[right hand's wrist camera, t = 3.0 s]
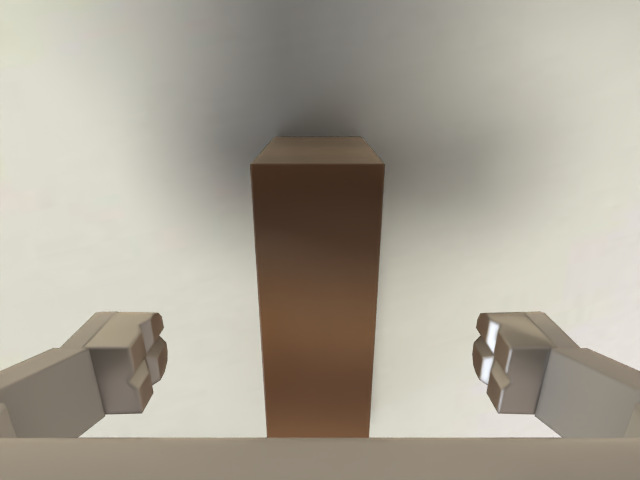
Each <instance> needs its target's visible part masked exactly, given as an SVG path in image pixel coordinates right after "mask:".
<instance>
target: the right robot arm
mask: <svg viewBox="0 0 640 480" xmlns="http://www.w3.org/2000/svg"><path fill="white" fill-rule="evenodd" d="M163 328H164V326H163V321H162V316H161V315H160V314H159V313H152V312H97V313H95V314H94V315H93V316H92V317H91V318H90V319H89V320H88V321H87V322H86V323H85V324H84V325H83V326H82V327H81V328H80V329H79V330H78V331H77V332H76V333H75V334H73V335H72V336H71V337H70V338H69V339H68V340H67V341H66V342H65V343H64V344H63V345H62V346H61V347H60V348H52V349H50V350H48V351H45V352H43V353H41V354H39V355H36V356H34V357H32V358H29V359H27V360H25V361H22V362H20V363H18V364H16V365H13V366H11V367H9V368H6V369H4V370H2V371H0V480H640V371H638V370H636V369H633V368H631V367H629V366H627V365H624V364H622V363H620V362H617V361H615V360H613V359H611V358H608V357H606V356H604V355H601V354H599V353H597V352H595V351H592V350H590V349H588V348H580V347H579V346H578V345H577V344H576V343H575V342H574V341H573V340H572V339H571V338H570V337H569V336H568V335H567V334H566V333H565V332H564V331H563V330H561V329H560V328H559V327H558V326H557V325H556V324H555V323H554V322H553V321H552V320H551V319H550V318H549V317H548V316H547V315H546V314H545V313H543V312H540V311H538V312H505V313H480V315H479V317H478V320H477V326H476V328H477V330H478V331H479V333H480V335H481V336H480V337H479V338H478V339H477V340H476V341H475V342H474V345H473V353H472V356H473V365H474V369H475V372H476V374H477V376H478V378H479V380H480V381H482V382H483V383H485V384H486V385H488V388H487V394H488V396H489V398H490V400H491V402H492V403H493V405H494V407H495V409H496V410H497V412H498V413H502V414H535V417H537V418H538V419H539V420H541V421H542V422H543V423H544V424H546V425H547V426H548V427H550V428H551V429H552V430H553V431H555V432H556V433H557V434H559V435H560V436H561V437H562V438H78V437H79V436H80V435H82V434H83V433H84V432H85V431H87V430H88V429H89V428H91V427H92V426H93V425H94V424H96V423H97V422H98V421H100V420H101V419H102V418H104V417H105V414H137V413H142V412H143V411H144V409H145V407H146V405H147V403H148V402H149V400H150V398H151V396H152V394H153V388H152V385H154V384H155V383H157V382H158V381H160V380H161V378H162V376H163V374H164V372H165V368H166V364H167V344H166V342H165V341H164V340H163V339H162V338H161V337H160V336H159V335H160V333H161V331H162V330H163Z"/></svg>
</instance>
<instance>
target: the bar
mask: <svg viewBox="0 0 640 480" xmlns="http://www.w3.org/2000/svg"><path fill="white" fill-rule="evenodd" d="M250 172H251V188H252V204H253V220H254V236H255V252H256V268H257V284H258V300H259V316H260V332H261V348H262V364H263V379H264V395H265V411H266V427H267V438H369V428H370V411H371V394H372V377H373V360H374V343H375V326H376V309H377V292H378V275H379V258H380V241H381V224H382V207H383V190H384V173H385V164H384V163H383V162H382V161H381V159H380V158H379V157H378V156H377V155H376V153H375V152H374V151H373V150H372V149H371V147H370V146H369V145H368V144H367V143H366V141H365V140H364V139H363V138H362V137H274V138H273V139H272V140H271V142H270V143H269V144H268V145H267V146H266V147H265V148H264V150H263V151H262V152H261V153H260V154H259V155H258V156H257V157H256V159H255V160H254V161H253V162H252V163H251V164H250Z"/></svg>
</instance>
